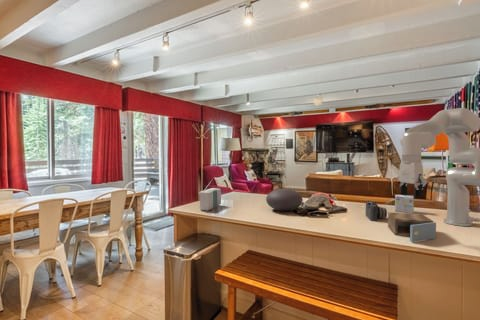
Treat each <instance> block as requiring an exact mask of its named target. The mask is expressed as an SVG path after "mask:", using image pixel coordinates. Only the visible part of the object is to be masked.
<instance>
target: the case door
mask: <svg viewBox="0 0 480 320" xmlns="http://www.w3.org/2000/svg"><path fill="white" fill-rule="evenodd" d="M436 238H437V222H431V223H423V224H415V225H410V236H409V242H411V243H415V242H420V241H428V240H434V239H436Z"/></svg>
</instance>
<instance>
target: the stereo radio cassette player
mask: <svg viewBox="0 0 480 320" xmlns="http://www.w3.org/2000/svg"><path fill="white" fill-rule="evenodd" d="M211 181H213V178H212V179H211ZM210 184H211V182H209V183H208V185H206V187H205V188H204V190H201V191H199V192H198V195H199V209H200V211H207V212H208V211H210V210H213V209H214V208H216V207H218V206H221V204H222V189H221V188H220V187H219V188H216V187H211V188H208V186H210Z"/></svg>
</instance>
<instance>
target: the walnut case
mask: <svg viewBox="0 0 480 320" xmlns="http://www.w3.org/2000/svg"><path fill="white" fill-rule="evenodd" d="M431 222H434V220H432V219H430V218H429V217H427V215H425V214H423V213H422V214H421V213H405V212H388V211H387V227H388V229H389V230H390V231H391V232H392V233H393V234H394V236H403V237H410V225H415V224H423V223H431Z"/></svg>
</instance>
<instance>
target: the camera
mask: <svg viewBox="0 0 480 320" xmlns="http://www.w3.org/2000/svg"><path fill="white" fill-rule="evenodd" d="M365 217H367V219H368V220H369V221H371V222H377V221H378V219H384V218H387V217H388V211H387V208H386V207H384V206H382V207H381V206H379V205H378V204H377V203H376V201H371V200H367V201H366V203H365Z"/></svg>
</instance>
